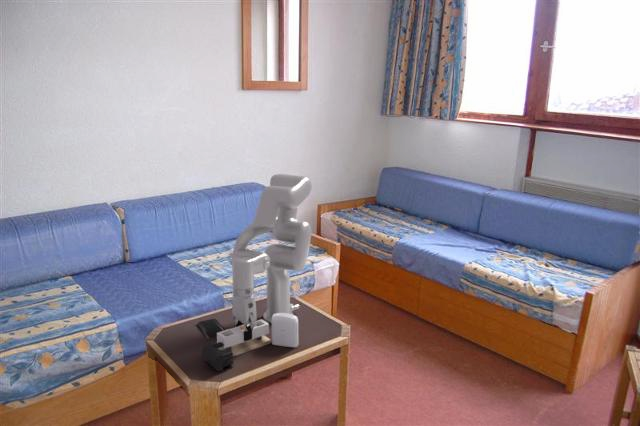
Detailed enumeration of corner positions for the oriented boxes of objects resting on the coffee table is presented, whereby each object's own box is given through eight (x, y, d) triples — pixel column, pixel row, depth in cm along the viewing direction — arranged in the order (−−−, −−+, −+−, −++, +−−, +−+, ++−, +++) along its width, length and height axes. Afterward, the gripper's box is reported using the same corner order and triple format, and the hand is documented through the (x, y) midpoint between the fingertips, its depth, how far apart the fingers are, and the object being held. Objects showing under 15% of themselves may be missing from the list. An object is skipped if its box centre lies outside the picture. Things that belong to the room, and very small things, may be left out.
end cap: (201, 362, 174) (200, 345, 172) (219, 356, 178) (219, 339, 177) (215, 375, 166) (214, 357, 165) (233, 368, 171) (233, 350, 169)
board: (260, 335, 193) (260, 321, 192) (271, 342, 188) (271, 327, 187) (216, 351, 181) (216, 335, 180) (226, 359, 176) (225, 343, 175)
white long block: (261, 328, 191) (261, 317, 190) (269, 333, 188) (269, 322, 187) (217, 343, 180) (216, 331, 178) (223, 348, 176) (223, 336, 175)
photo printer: (269, 345, 186) (269, 314, 183) (273, 339, 190) (273, 309, 187) (296, 349, 184) (296, 318, 181) (299, 343, 188) (300, 313, 185)
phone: (215, 318, 205) (228, 333, 193) (215, 320, 206) (228, 336, 193) (196, 322, 202) (208, 338, 189) (196, 324, 202) (208, 340, 189)
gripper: (265, 295, 175) (265, 343, 179) (240, 281, 188) (240, 325, 192) (246, 300, 171) (247, 349, 175) (222, 285, 183) (223, 331, 188)
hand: (243, 336), depth 183 cm, fingers closed on white long block, 5 cm apart
